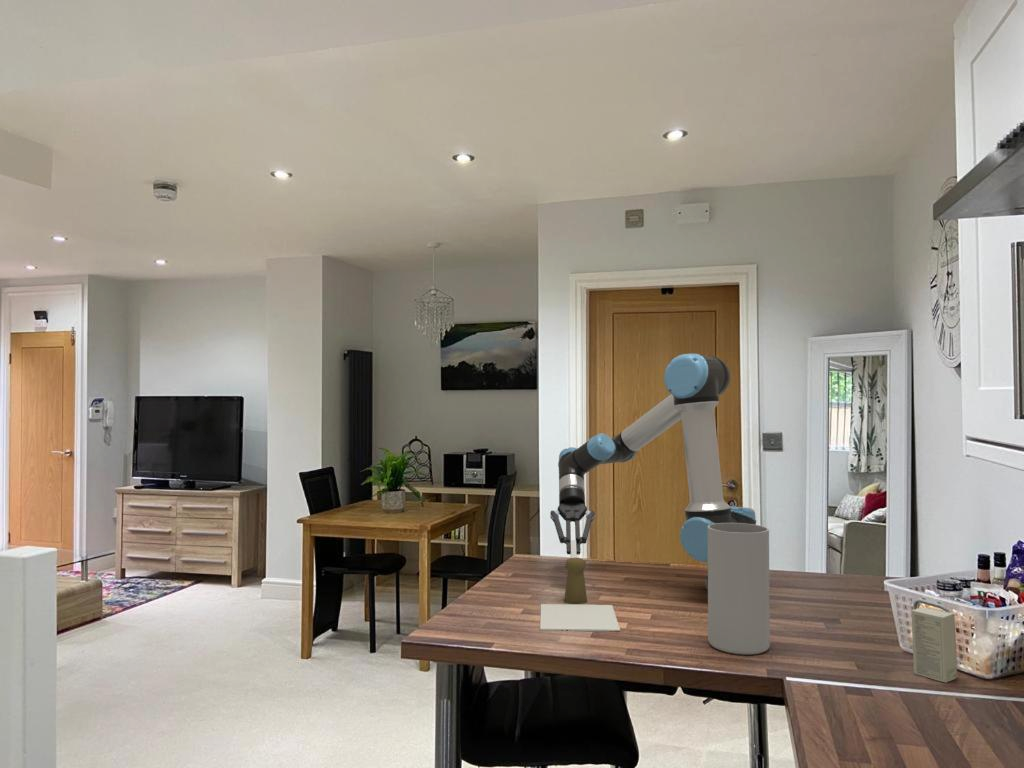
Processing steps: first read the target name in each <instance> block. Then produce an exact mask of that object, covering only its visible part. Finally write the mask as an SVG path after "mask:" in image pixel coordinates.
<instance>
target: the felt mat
mask: <svg viewBox="0 0 1024 768" xmlns="http://www.w3.org/2000/svg"><path fill="white" fill-rule="evenodd" d="M539 620H540V623H539V624H540V626H539V630H540V631H544V632H545V631H548V632H549V631H551V632H552V631H554V632H555V631H556V632H557V631H559V632H561V630H563V632H609V631H620V632H621V627H620V624H619V622H618V618H617V616H616V613H615V610H614V607H613V605H612V604H569V603H566V604H560V603H559V604H557V603H556V604H554V603H553V604H552V603H541V604H540V619H539ZM566 630H568V631H566Z"/></svg>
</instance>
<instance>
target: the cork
mask: <svg viewBox="0 0 1024 768" xmlns="http://www.w3.org/2000/svg"><path fill="white" fill-rule="evenodd" d="M585 561H586V560H585V559H584V558H580V557H577V558H571V557H570V558H568V559H567V560H566V561H565V568H566V570H567V575H566V583H565V590H564V599H563V601H564V602H565V603H566V602H567V603H566V604H570V603H571V604H570V605H583V604H587V602H588V596H587V595H588V594H587V588H586V580H585V579H586V578H585V570H586V565H587V564H586V562H585ZM582 603H583V604H582Z"/></svg>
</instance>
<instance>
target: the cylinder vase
mask: <svg viewBox="0 0 1024 768" xmlns="http://www.w3.org/2000/svg"><path fill="white" fill-rule="evenodd" d="M707 574H708V590H707V627H708V628H707V636H708V637H707V639H708V643H709V645H711V646H712V648H714V649H717V650H719V651H721V652H725V653H729V654H733V655H744V656H746V655H747V656H748V655H749V656H750V655H758V654H763V653H765V652H766V651H769V649H770V647H771V646H770V645H771V641H770V639H771V634H770V633H771V631H770V630H771V629H770V627H771V626H770V625H771V624H770V623H771V621H770V619H771V618H770V603H771V602H770V529H769V528H768V527H766V526H763V525H758V524H756V525H754V524H744V523H716V524H711V525H708V562H707Z"/></svg>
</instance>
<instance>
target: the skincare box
mask: <svg viewBox="0 0 1024 768" xmlns="http://www.w3.org/2000/svg"><path fill="white" fill-rule="evenodd" d="M910 614H911V629H912V630H911V632H912V633H911V634H912V660H913V663H912V664H913V674H916V675H919V676H921V677H925V678H928V679H930V680H934V681H938V682H941V683H942V682H943V683H949V682H952V681H953V680H956V679H957V678H958V667H957V665H958V664H957V642H956V639H957V638H956V621H955V619H956V617H955V613H954V612H950V611H944V610H941V609H935V608H929V607H927V606H926V607H925V606H922V607H921V606H920V607H918V608H914V609H911V613H910Z"/></svg>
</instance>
